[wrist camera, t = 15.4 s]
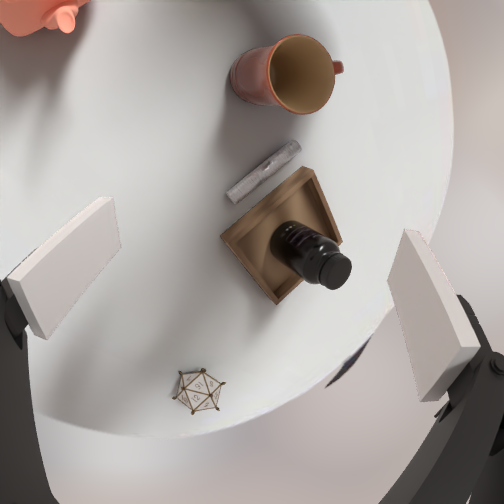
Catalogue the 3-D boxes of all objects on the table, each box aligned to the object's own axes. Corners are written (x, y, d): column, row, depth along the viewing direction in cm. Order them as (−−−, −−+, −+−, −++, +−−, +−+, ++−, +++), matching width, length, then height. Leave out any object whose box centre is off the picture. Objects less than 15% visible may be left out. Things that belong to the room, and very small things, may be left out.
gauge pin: (289, 138, 41) (298, 140, 40) (294, 150, 42) (303, 152, 41) (223, 191, 40) (230, 195, 38) (231, 201, 41) (238, 206, 39)
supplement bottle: (306, 244, 51) (358, 278, 42) (274, 266, 49) (323, 306, 40) (298, 210, 47) (355, 241, 38) (263, 232, 45) (316, 270, 36)
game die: (192, 361, 56) (229, 398, 54) (160, 389, 50) (199, 428, 48) (199, 348, 49) (242, 390, 47) (161, 380, 44) (207, 425, 41)
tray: (302, 166, 44) (313, 169, 42) (333, 236, 55) (342, 241, 53) (220, 236, 42) (228, 243, 40) (268, 297, 53) (276, 305, 51)
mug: (230, 117, 35) (277, 123, 28) (213, 52, 30) (258, 38, 23) (304, 96, 39) (358, 101, 31) (292, 39, 34) (347, 32, 26)
